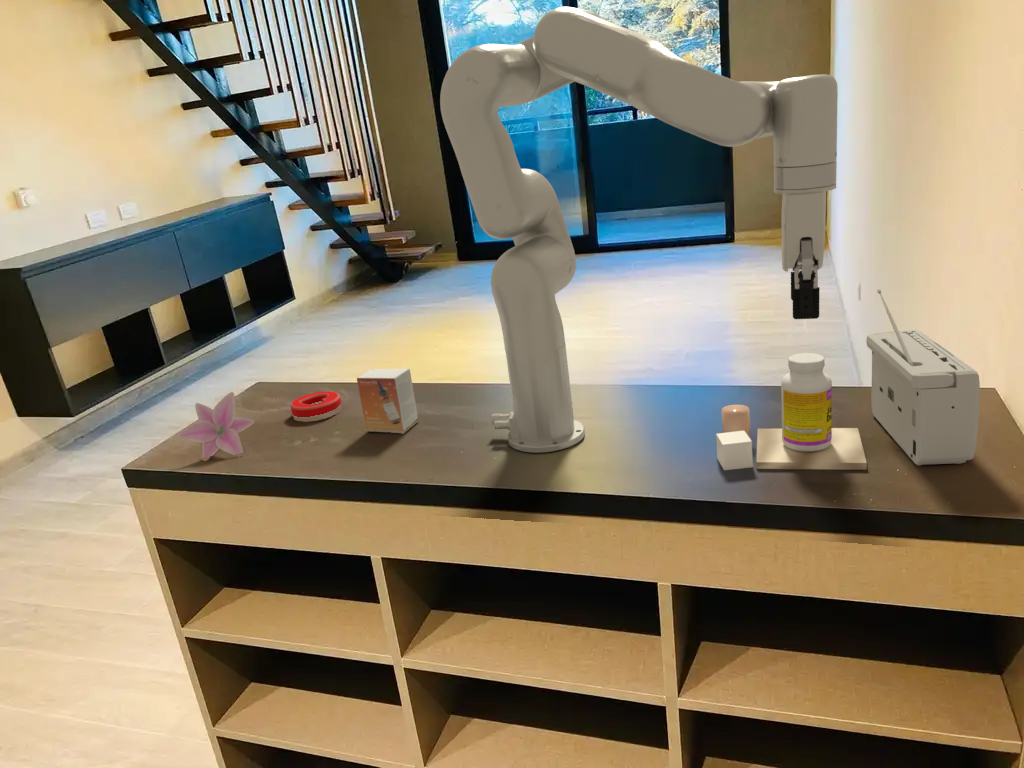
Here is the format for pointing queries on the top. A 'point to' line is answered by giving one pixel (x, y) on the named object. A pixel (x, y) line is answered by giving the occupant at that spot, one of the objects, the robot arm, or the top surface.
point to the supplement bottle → (806, 404)
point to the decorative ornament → (304, 409)
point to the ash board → (837, 455)
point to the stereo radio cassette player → (924, 396)
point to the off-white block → (734, 450)
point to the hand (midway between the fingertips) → (804, 308)
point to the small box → (387, 399)
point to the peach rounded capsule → (736, 419)
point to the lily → (217, 427)
